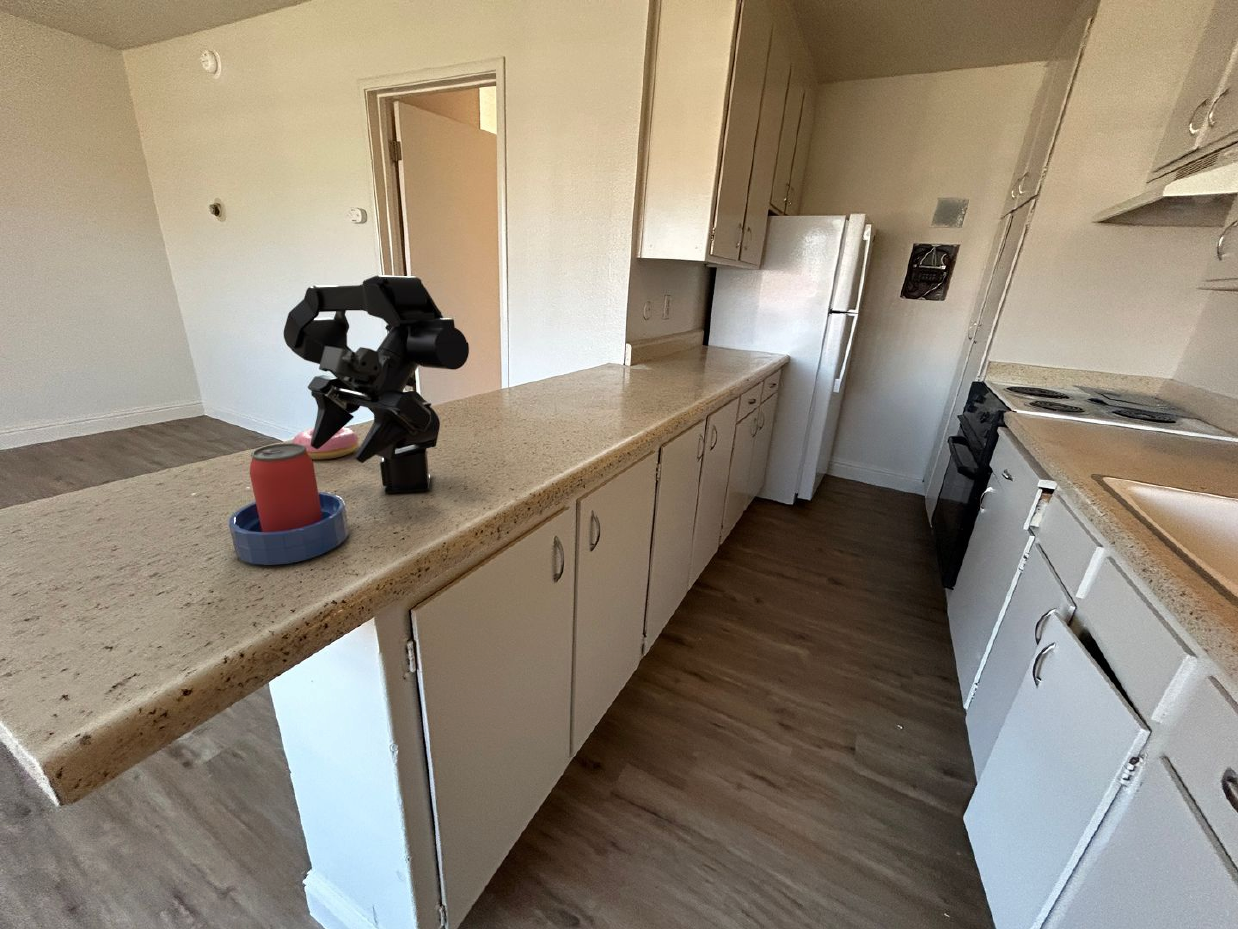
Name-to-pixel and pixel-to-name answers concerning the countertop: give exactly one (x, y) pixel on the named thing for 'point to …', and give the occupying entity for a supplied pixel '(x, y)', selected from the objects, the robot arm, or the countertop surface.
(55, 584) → the countertop surface
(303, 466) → the beer can
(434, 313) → the robot arm
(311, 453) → the doughnut
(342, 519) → the bowl
